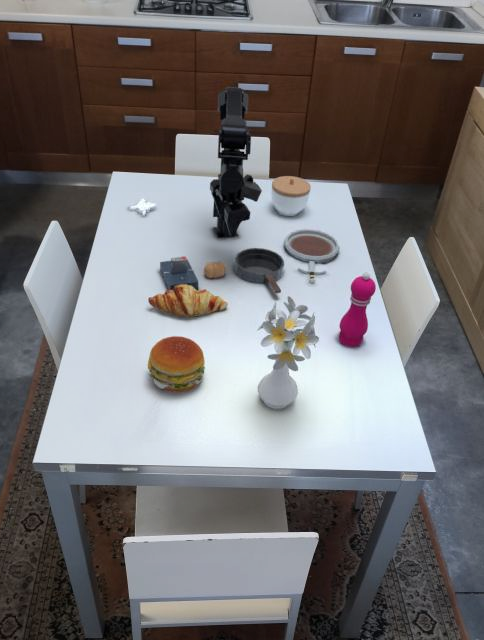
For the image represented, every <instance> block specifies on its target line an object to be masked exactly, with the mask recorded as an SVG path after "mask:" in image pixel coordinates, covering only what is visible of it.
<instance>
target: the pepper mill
mask: <svg viewBox="0 0 484 640" xmlns="http://www.w3.org/2000/svg"><path fill="white" fill-rule="evenodd" d="M376 288H377V286H376V282H375V280H374V279H373V278H371V274H370V273H369V272H364V273H362V275H359V276H357V277H356V278H354V279H353V281H352V282H351V285H350V292H351V294H350V297H349V300H350V306H349V308H348V310H347V311H346V313H344V315H343V316H342V317H341V319H340V322H339V330H340V331H339V334H338V340H339V342H340V344H342V345H344V346H346V347H349V348H355V347H359V346H361V345H362V344H363V340H364V335H365V334H367V332H368V330H369V329H368V327H369V320H368V316H367V308H368V306H369V305H370V303H371V300H372V297H373V296H374V295H375V293H376Z"/></svg>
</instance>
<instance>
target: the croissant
mask: <svg viewBox="0 0 484 640" xmlns="http://www.w3.org/2000/svg"><path fill="white" fill-rule="evenodd" d="M147 299H148V303H149V305H150V306H152V307H154V308H156V309H158V310H159V311H161V312H163V313H165V314H168V315H169V314H170V315H173V316H176V317H188V318H189V317H191V318H192V317H198V316H202V315H204V314H205V315H208V314H211V313H213V312H216V311H217V312H220V311H223V310H225V309H227V307H228V305H229V303H228V302H227V301H225V300H224V299H223V298H222V297H220V296H219V295H214V294H212V293H211V292H210V291H209V290H207V289H201V290H198V291H197V290H196V289H195V288H194V287H193V286H190V285H187V284H184V285H183V284H182V285H177V286H175V287H174V289H173V290H168V289H166V290H165V291H164V292H163V294H162V293H157V294H155V295H154V296H150V297H148V298H147Z"/></svg>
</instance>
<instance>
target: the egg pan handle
mask: <svg viewBox="0 0 484 640" xmlns="http://www.w3.org/2000/svg"><path fill="white" fill-rule="evenodd" d="M265 279H266V280H267V282H268V283H267V284H268V286H269V287H270V288H271V290H272V291H273V293H274V294H281V293H282V289H281V287H280V286H279V284H278V283H277V282H276V281H275V280H274V278H273V277H272V275H271V274H266V275H265Z"/></svg>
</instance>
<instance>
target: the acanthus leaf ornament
mask: <svg viewBox="0 0 484 640" xmlns="http://www.w3.org/2000/svg"><path fill="white" fill-rule="evenodd" d="M156 207H157V204H156V203H153V202H150V201H148V202H146V199H145V198H140V200H139V201H138V202H137V204H136V205H130V206H129V210H130V211H136V212H138V214H139V215H141V216H142V217H145V216H146V215H147V213H150V211H155V210H156Z"/></svg>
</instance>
